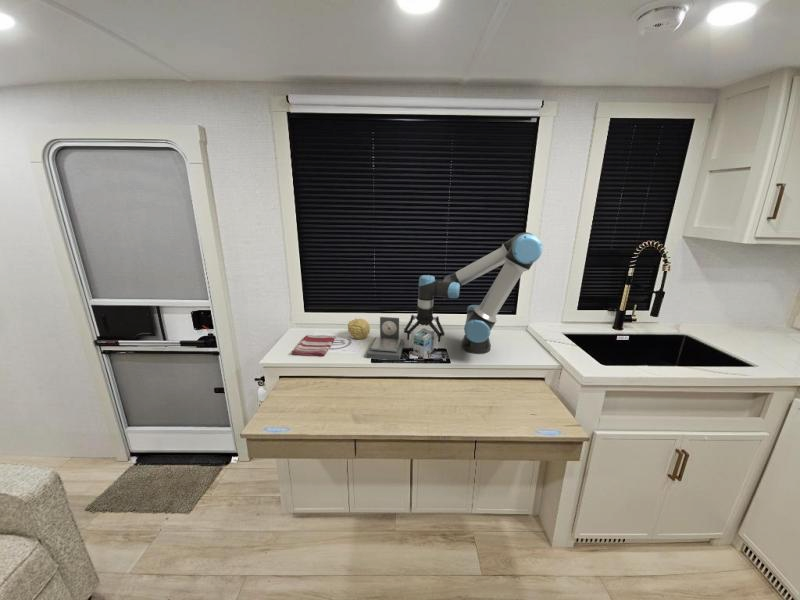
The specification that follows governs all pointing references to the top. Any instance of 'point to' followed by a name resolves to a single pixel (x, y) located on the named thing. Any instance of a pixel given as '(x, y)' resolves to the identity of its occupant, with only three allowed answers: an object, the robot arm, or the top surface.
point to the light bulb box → (423, 342)
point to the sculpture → (359, 328)
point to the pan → (386, 344)
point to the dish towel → (314, 346)
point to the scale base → (390, 331)
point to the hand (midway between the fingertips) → (423, 346)
